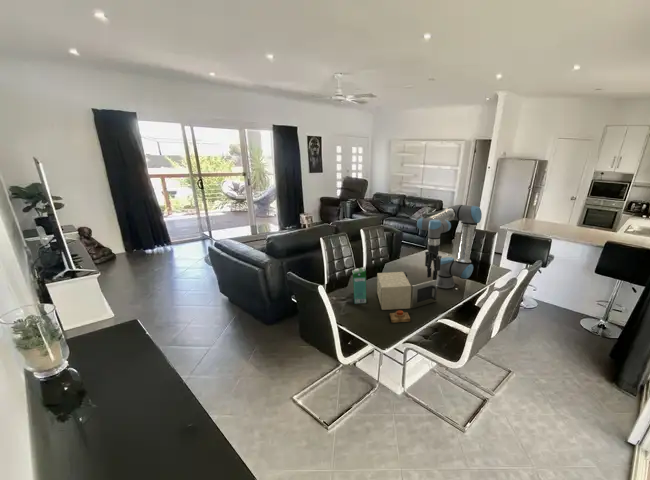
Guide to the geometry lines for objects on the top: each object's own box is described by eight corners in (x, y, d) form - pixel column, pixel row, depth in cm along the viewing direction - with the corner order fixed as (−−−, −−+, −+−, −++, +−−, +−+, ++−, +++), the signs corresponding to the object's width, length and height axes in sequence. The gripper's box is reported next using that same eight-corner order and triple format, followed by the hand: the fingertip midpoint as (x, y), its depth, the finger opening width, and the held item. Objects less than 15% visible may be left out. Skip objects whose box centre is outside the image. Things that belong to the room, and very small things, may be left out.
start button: (402, 312, 210) (402, 309, 209) (403, 315, 206) (403, 312, 206) (396, 312, 210) (396, 310, 209) (397, 315, 206) (397, 313, 205)
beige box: (406, 292, 249) (406, 271, 243) (413, 308, 223) (414, 285, 217) (377, 293, 247) (377, 273, 241) (381, 310, 221) (381, 287, 215)
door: (438, 303, 229) (440, 281, 223) (415, 310, 220) (416, 288, 213) (433, 300, 234) (435, 279, 227) (411, 307, 224) (411, 285, 218)
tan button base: (407, 315, 214) (407, 309, 213) (410, 321, 206) (410, 316, 204) (389, 316, 213) (389, 310, 211) (391, 322, 205) (391, 317, 203)
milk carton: (353, 298, 240) (352, 266, 230) (365, 297, 240) (365, 266, 231) (354, 303, 231) (352, 271, 222) (366, 303, 232) (365, 270, 223)
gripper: (420, 242, 210) (419, 275, 219) (438, 248, 196) (436, 283, 205) (429, 240, 214) (427, 273, 222) (447, 246, 199) (445, 281, 208)
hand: (431, 278), depth 214 cm, fingers open, 5 cm apart
